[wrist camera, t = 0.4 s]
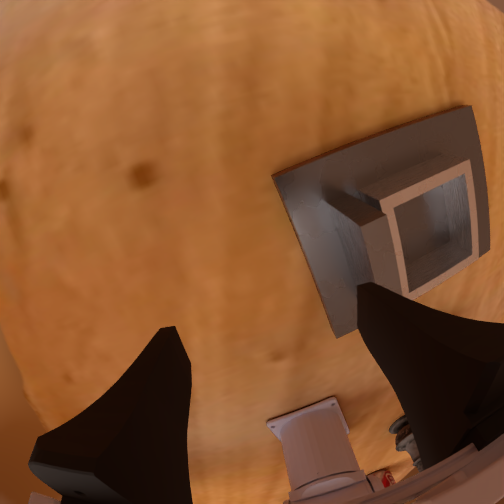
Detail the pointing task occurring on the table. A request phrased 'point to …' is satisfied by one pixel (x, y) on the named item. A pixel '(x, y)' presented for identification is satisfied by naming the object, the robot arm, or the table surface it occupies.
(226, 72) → the table surface
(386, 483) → the soda can
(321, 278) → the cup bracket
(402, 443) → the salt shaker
